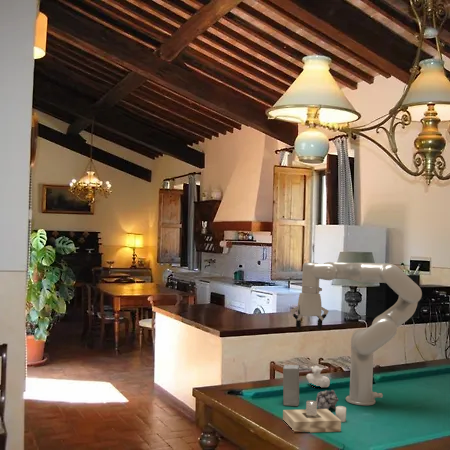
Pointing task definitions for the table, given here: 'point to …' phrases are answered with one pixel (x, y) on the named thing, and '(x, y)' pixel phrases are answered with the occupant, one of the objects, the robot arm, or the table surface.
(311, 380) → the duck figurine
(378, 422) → the table surface
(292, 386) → the skincare box
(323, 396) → the mineral specimen
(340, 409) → the short white pin
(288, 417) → the hole slab
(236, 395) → the table surface
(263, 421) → the table surface
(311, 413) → the grey beige post
